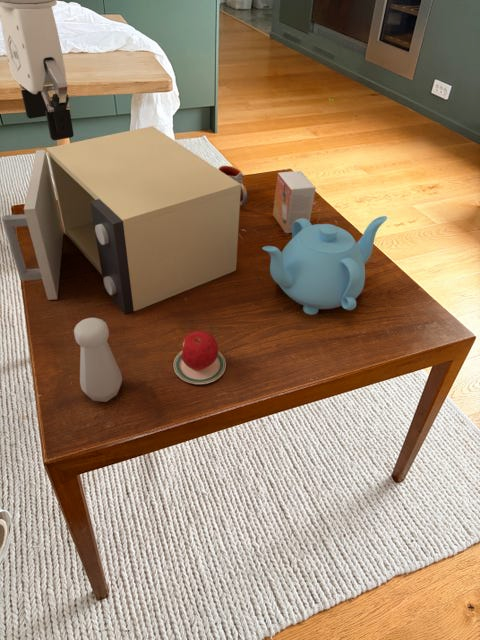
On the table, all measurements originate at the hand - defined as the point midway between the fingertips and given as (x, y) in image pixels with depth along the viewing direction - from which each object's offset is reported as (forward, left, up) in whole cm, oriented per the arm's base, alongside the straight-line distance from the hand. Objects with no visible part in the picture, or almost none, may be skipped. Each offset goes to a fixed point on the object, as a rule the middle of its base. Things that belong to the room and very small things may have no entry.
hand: (49, 127), depth 73 cm
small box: (+43, +18, -28) cm, 54 cm away
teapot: (+43, -7, -28) cm, 52 cm away
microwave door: (-7, +4, -27) cm, 29 cm away
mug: (+31, +28, -28) cm, 50 cm away
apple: (+21, -24, -28) cm, 42 cm away
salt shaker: (+7, -28, -28) cm, 40 cm away
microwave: (+11, +7, -28) cm, 31 cm away
